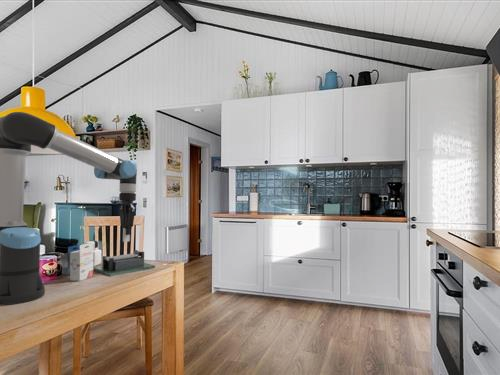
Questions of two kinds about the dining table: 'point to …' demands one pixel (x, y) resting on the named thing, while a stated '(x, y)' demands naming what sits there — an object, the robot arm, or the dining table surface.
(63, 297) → the dining table surface
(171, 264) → the dining table surface
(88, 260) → the ink cartridge box
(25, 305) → the dining table surface
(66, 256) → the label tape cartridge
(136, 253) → the steel strap
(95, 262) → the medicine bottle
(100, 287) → the dining table surface
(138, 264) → the green fixture base plate
